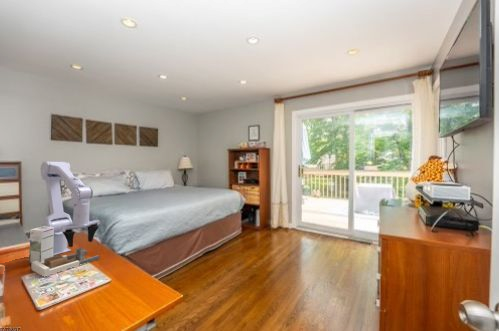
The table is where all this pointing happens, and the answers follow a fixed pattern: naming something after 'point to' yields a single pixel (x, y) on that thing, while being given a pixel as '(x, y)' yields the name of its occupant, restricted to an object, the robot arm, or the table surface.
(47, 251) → the syrup box
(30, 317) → the table surface
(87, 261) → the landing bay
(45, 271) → the frame
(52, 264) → the lopsided dumbbell
